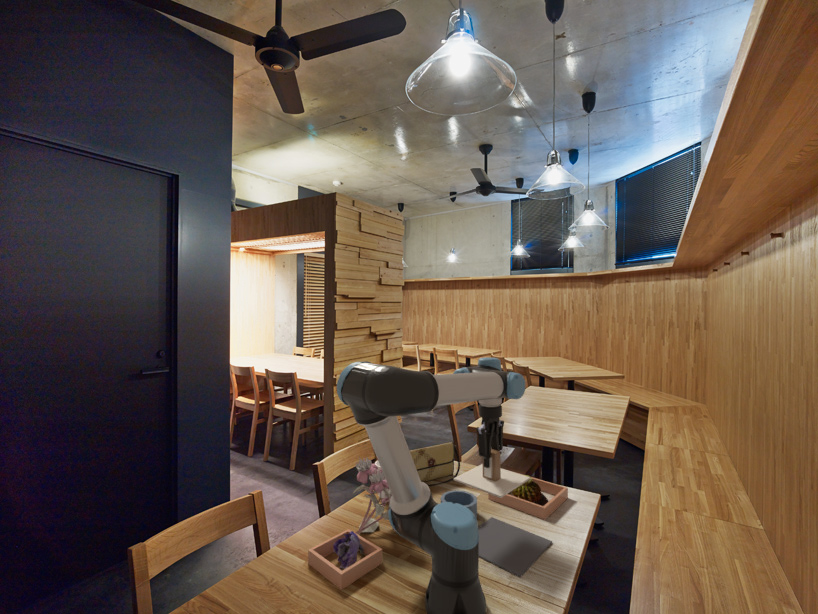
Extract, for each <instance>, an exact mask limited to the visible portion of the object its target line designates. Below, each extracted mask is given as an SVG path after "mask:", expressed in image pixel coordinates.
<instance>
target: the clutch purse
mask: <svg viewBox="0 0 818 614" xmlns="http://www.w3.org/2000/svg"><path fill="white" fill-rule="evenodd" d="M409 451H410V454H411V456H412V459H413V462H414V464H415V467H416V470H417V472H418V475H419V478H420V480H421V482H424V483H425V482H429V481H431V480H435V479H436V480H437V479H440V478H442V477H447V476H451V475H454V473H455V475H454V476H453V477H452V478H450V479H447V480H444V481H441V482H437V483H433V484H432V483H431V484H427V485H428V487H433V486H438V485H442V484H445V483H448V482H451V481H454V480H453V478H455V477H457V476H459V475H458V474H459V472H460V469H461V460H460V456H459V454H458V450H457V445H455V442H454V441H451V442H450V441H449V442H446V443H441V444H437V445H431V446H426V447H421V448H415V449H409ZM455 457H456V460H457V470H456V472H454V471H455Z"/></svg>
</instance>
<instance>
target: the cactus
mask: <svg viewBox="0 0 818 614" xmlns="http://www.w3.org/2000/svg"><path fill="white" fill-rule="evenodd" d="M523 475H524V476H527V477H530V479H529V480H528V481H526V482H525V483H523V484H522V485H520V486H519V487H517V488H516V489H514V490H513V491H511V492H510V493H508V494H509V495H512V496H515V497H517V498H520V499H523V500H526V501H529V502H532V503H535V504H538V505H541V506H544V505H545V504H547V503H548V502H549V500H548V498H547V496H546V495H544V492H542V491H541V488H540V487H539V485H538V484H537V483H536V482H534V481H532V478H531V477H532V476H530V475H528V474H523Z"/></svg>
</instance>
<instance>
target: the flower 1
mask: <svg viewBox="0 0 818 614" xmlns="http://www.w3.org/2000/svg"><path fill="white" fill-rule="evenodd" d="M349 535H350V536H349ZM344 536H345V538H342V539H338V541H336V542H335V543H334V545H333V548H334V552H333V553H335V554H336V555H337V556H338V559H337V562H339V563H340V565H339V569H343V570H345V569H346V568H348V567H349V566H351V565H353V564H354V563H356V562H358V561H357V560H358V552H360V555H361V556H362V555H364V554H363V553H364V549H363V547H362V545H361V544H360V540H359V537H358V536H357V535H356V534H355V531H353V530H351V532H349V534H344ZM349 537H350V538H349ZM358 549H359V550H360V551H358Z"/></svg>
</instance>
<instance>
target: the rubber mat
mask: <svg viewBox="0 0 818 614" xmlns="http://www.w3.org/2000/svg"><path fill="white" fill-rule="evenodd" d="M478 531H479V558H480V559H482V560H484V561H485V562H488V563H490V564H492V565H493V566H496V567H498V568H500V569H502V570H503V571H506V572H508V573H510V574H513V575H514V576H516V577H518V578H522V576H523V575H525V573H527V571H528V570H529V569H530V568H531V567H532V566H533V564H534V563H536V561H537V560H538V559H539V558H540V557H541V556H542V554H543V553H544V552H545V551H546V550H547V549H548V548H549V547H550V546H551V545H552V544H553V540H550V539H548V538H545V537H542V536H540V535H538V534H536V533H533V532H530V531H528V530H525V529H523V528H520V527H517V526H515V525H513V524H510V523H507V522H505V521H502V520H500V519H498V518H495V517H493V516H491V517H489V518H488V519H487V520H486V521H484V522H483V523H481V524H480V525H478Z"/></svg>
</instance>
